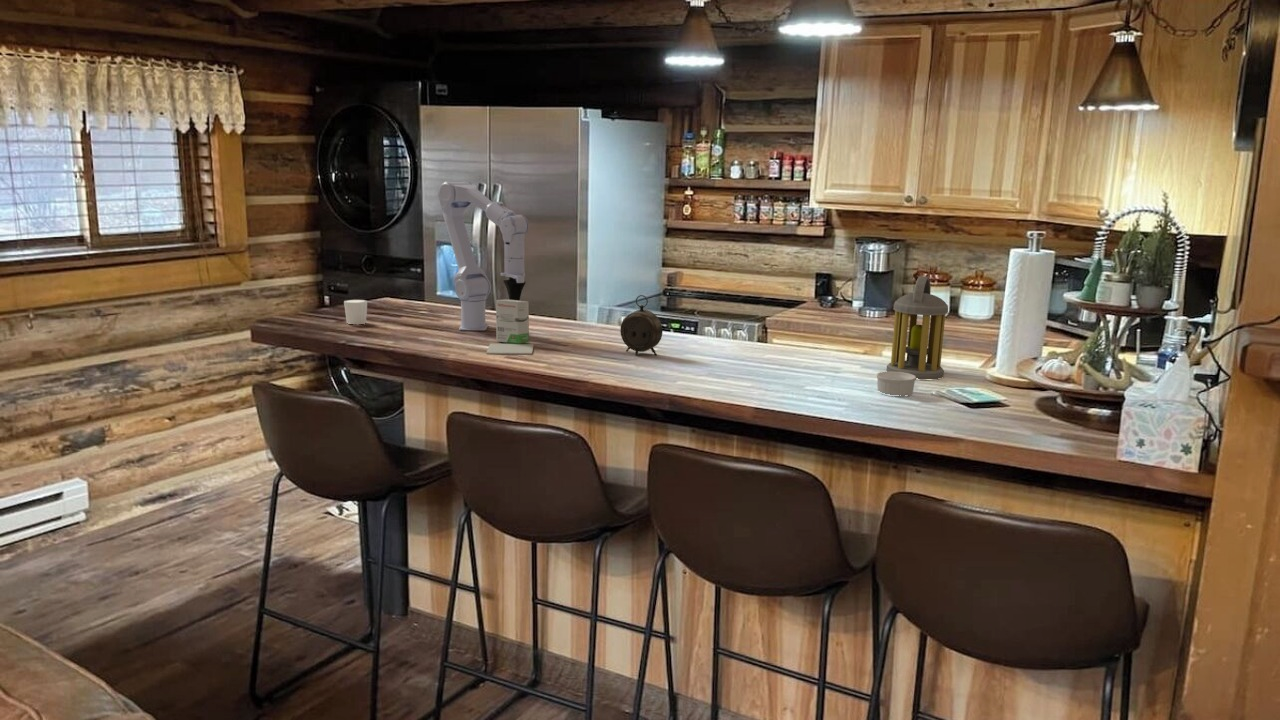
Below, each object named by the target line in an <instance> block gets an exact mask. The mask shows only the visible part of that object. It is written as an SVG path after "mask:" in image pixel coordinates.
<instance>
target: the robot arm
mask: <svg viewBox="0 0 1280 720" xmlns="http://www.w3.org/2000/svg"><path fill="white" fill-rule="evenodd" d="M437 197H438V200H439V203H440V206H441V207H440V208H441V210H442V216H443V220H444V224H445V226H446V229H447V234H448V237H449V241H450V243H451V247H452V251H453V255H454V259H455V261H456V264H457V267H458V271H457V272H456V274H455V275H454V276H453V280H454V291H455V294H456V296H457V297H458V300H459V301H460V315H461V316H460V318H461V319H460V320H461V324H460V326H459V328H458V331H487V329H488V326H489V323H486V300H487V299H488V296H489V295H490V293H491V292H492V291H491V290H492V284H491V280H489V278H488V276H487V274H486V272H485V270H484V269H483V268H481V267H480V266H478V265H477V262H476V258H475V255H474V252H473V248H472V245H471V242H470V238H469V234H468V231H467V228H466V224H465V221H464V217H463V215H464V213H466V212H467V210H468V209H469V208H470V206H471V205H474V206H475V207H477V208H479V209H480V210H481V211H482V212H483V211H484V213H485V216H486V218H487V219H488V220H489V221H490V222H492V223H493V224H494V225H495V226H497V227H499V229H500V232H501V235H502V241H503V243H504V245H503V247H504V249H503V250H504V251H503V252H504V253H503V254H504V257H503V258H504V259H503V260H504V262H503V263H504V265H503V266H504V271H503V272H500V276H501V277H505V278H508V279H504V280H503V284H504V285H505V288H506V291H507V295H508V300H518V301H521V295H522V291H523V289H524V287H525V285H526V282H527V281H526V280H525V276H526V272H525V235H527V233H528V231H529V228H530V227H529V226H530V225H529V224H530V223H529V220H528V218H527V217H526V216H525V215H524V214H516V213H515V211H514V210H512V209H509V208H507V207H506V206H505V205H504V204H505V203H503V202H502V201H492V200H490V199H489V198H488V197H487V196H486V195H485V194H484V193H482V192H481V191H480V190H479V189H478V186H477V185H476V184H473V182H471V181H458V182H457V181H456V182H455V181H451V182H450V181H444V182H442V183H441V184H440V186H439V189H438V193H437Z"/></svg>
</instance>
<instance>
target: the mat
mask: <svg viewBox="0 0 1280 720" xmlns="http://www.w3.org/2000/svg"><path fill="white" fill-rule="evenodd" d="M534 347H535V346H534V343H521V344H515V343H489V345H488V348H487V350H486V355H533V350H534Z"/></svg>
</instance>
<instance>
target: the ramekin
mask: <svg viewBox="0 0 1280 720" xmlns="http://www.w3.org/2000/svg"><path fill="white" fill-rule="evenodd" d="M876 378H877V391H880V392H882V393H885V394H890V395H899V396H900V395H901V396H905V395H911V394H912V395H913V394H914V388H915V382H916V381H917V380H916V376H914V375H912V374H909V373H904V372H886V371H881V372H878V373H876ZM912 395H911V396H912Z"/></svg>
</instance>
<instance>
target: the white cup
mask: <svg viewBox="0 0 1280 720" xmlns="http://www.w3.org/2000/svg"><path fill="white" fill-rule="evenodd" d="M343 305H344V312H345V320H346V324H347V323H348V324H364V325H366V324H367V316H368V315H367V313H368V300H366V299H346V300H344V301H343ZM365 323H366V324H365ZM348 324H347V325H348Z"/></svg>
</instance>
